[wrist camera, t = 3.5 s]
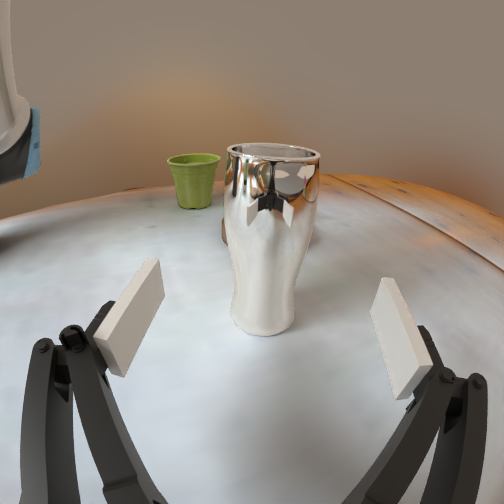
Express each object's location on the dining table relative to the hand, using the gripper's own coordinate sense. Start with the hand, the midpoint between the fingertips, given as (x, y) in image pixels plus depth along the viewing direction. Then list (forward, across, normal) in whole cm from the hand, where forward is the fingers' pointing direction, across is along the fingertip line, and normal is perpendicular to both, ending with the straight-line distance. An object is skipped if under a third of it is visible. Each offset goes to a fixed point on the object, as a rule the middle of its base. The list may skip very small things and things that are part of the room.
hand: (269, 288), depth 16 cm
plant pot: (+34, -14, -9) cm, 38 cm away
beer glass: (+7, 0, -9) cm, 11 cm away
